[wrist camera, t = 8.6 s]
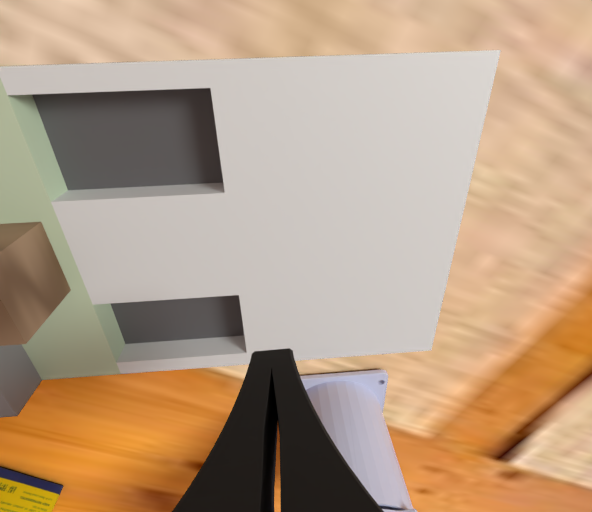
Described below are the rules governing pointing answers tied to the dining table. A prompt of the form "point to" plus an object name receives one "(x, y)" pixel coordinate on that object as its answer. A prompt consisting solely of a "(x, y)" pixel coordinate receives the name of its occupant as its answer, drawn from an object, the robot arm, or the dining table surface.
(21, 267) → the walnut block
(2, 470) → the supplement box
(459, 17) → the dining table surface
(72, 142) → the board
